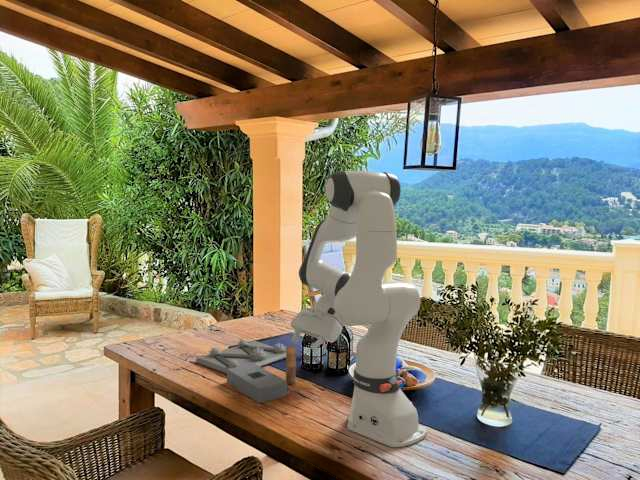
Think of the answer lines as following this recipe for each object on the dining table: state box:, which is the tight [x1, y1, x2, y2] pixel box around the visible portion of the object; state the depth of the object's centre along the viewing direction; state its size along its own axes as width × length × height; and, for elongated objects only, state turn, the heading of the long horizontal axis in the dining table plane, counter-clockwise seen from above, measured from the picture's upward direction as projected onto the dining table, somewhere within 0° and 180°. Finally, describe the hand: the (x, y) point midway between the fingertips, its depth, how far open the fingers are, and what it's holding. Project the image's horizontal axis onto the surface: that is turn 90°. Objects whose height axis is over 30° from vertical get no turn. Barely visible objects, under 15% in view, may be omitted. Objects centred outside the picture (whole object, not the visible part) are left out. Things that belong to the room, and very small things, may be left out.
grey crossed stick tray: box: [195, 338, 287, 375], centre depth 189 cm, size 30×22×7 cm
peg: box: [285, 345, 297, 386], centre depth 168 cm, size 3×3×12 cm
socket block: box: [226, 363, 288, 404], centre depth 162 cm, size 20×10×4 cm, turn 39°
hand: (302, 345), depth 171 cm, fingers open, 8 cm apart
